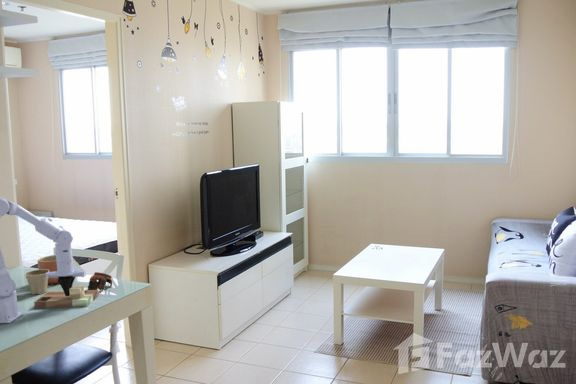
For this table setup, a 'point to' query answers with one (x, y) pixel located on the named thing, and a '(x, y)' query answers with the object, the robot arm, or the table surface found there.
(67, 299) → the board
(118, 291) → the table surface
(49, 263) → the planter
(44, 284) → the flower pot
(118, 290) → the table surface
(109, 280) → the pottery mug
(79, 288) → the birch block
